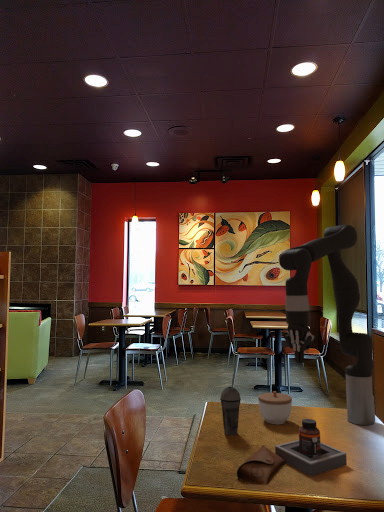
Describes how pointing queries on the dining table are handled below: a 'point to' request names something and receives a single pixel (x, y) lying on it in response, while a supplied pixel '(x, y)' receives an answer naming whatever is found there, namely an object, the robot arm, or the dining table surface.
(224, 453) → the dining table surface
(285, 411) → the lidded bowl
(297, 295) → the robot arm
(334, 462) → the holder block
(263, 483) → the sunglasses case
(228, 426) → the beverage cup
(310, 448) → the supplement bottle
